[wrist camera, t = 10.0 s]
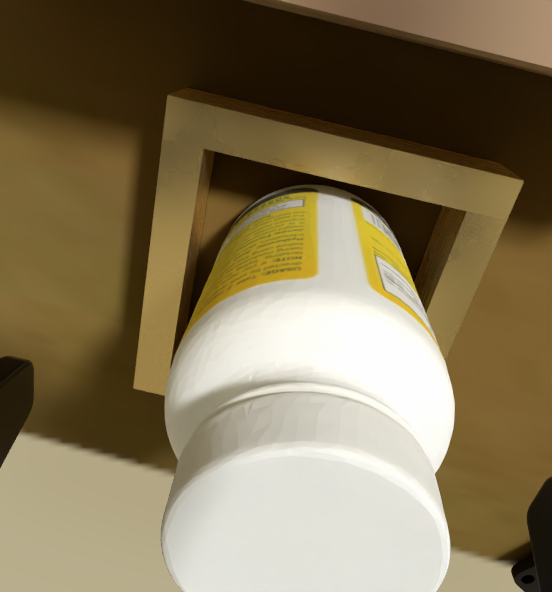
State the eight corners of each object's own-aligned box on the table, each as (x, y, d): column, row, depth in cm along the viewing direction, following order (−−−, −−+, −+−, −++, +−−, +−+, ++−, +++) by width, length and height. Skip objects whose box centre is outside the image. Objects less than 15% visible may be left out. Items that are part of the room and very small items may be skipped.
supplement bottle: (204, 320, 17) (83, 627, 8) (244, 157, 14) (134, 340, 6) (365, 364, 17) (414, 704, 8) (430, 211, 15) (594, 464, 6)
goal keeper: (498, 162, 14) (523, 180, 12) (397, 407, 18) (406, 449, 16) (187, 87, 14) (167, 95, 12) (152, 352, 18) (133, 388, 16)
